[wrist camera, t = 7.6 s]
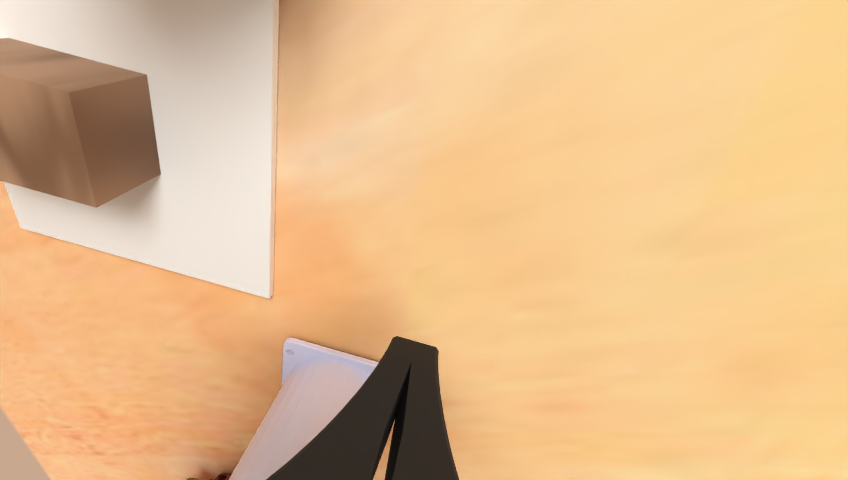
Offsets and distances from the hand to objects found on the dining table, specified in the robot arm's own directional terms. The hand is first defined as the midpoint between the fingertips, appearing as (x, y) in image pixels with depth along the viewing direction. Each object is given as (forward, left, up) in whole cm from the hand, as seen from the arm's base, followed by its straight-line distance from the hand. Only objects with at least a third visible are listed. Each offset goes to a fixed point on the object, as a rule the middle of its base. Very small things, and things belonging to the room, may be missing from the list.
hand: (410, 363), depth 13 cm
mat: (+1, +17, -9) cm, 19 cm away
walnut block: (+1, +15, -7) cm, 17 cm away
